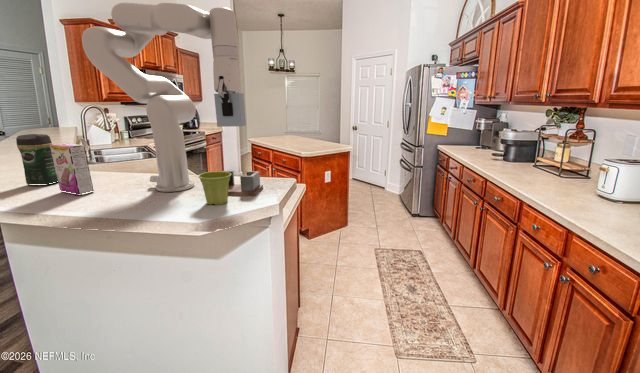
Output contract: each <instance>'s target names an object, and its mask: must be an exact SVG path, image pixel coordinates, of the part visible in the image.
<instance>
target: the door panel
mask: <svg viewBox="0 0 640 373" xmlns="http://www.w3.org/2000/svg"><path fill="white" fill-rule="evenodd" d="M244 96H245V95H244V93H242V92H241V93H240V92H239V93H231V103H232V107H233V116H223V113H222V103H221V97H220V95H219V94H218V93H214V94H213V97H214V106H215V117H216V126H217V127H227V128H228V127H245V126H247V122H246V109H245V108H246V107H245V97H244ZM227 97H228V95H227Z"/></svg>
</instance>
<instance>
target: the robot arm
mask: <svg viewBox="0 0 640 373" xmlns="http://www.w3.org/2000/svg"><path fill="white" fill-rule="evenodd" d="M110 15H111V19H112V21H113V23H114V25H116V26H117V27H118V28H119V29H121V30H119V29H115V28H110V27H105V26H90V27H88V28H86V29H84V30H83V33H82V34H81V35H82V36H81V43H82V48H83V51H84V53H85V56H86V57H87V59H88V60H89V62H90V63H91V64H92V65H93V66H94V67H95V68H96V69H97V70H98V71H100V72H101V73H102V74H103V75H105V76H106V77H107V78H108V79H109V80H111V81H112V82H113V83H114V84H115V85H116V86H117V87H119V88H120V89H121V90H122V91H123V92H124V93H125V94H126V95H128V96H129V98H131V99H132V100H134V102H136V103H138V104H146V107H145V108H146V109H145V111H146V115H147V116H146V117H147V119H148V121H149V124H150V127H151V131H152V132H151V133H152V137H153V144H154V150H155V157H156V165H157V171H158V175H151V176H150V178H149V182H150V183H156V185H155V190H156V191H158V192H163V193H164V192H165V193H172V192H181V191H186V190H189V189H191V188H194V187H195V182H194V181H192V180H190V176H189V168H188V160H187V151H186V142H185V136H184V133H183V130H182V128H181V127H180V124H184V123H187V122H188V123H189V122H191V121H192V120H194V118H195V116H196V114H197V113H196V110H197V109H196V105H195V103H194V102H193V100H192V99H191V98H190V97H189V96H188V95H187V94H186V93H184V92H183V91H182V90H181V89H180V88H178V87H177V85H175V84H174V83H173V82H171V81H170V79H168V78H165V77H163V76H161V75H152V74H146V73H143V72H142V71H140V70H139V69H138V68H137V67H135V65H133V64H132V63H131V62H130V61H128V60H126V59H130V58H134V57H136V56H138V55H139V54H140V53H141V52H142V51H143V49H145V47H147V45H148V44H150V42H151V41H152V39H154V38H155V36H164V35H166V34H167V33H168V32H171V33H179V34H181V33H182V34H186V35H190V36H194V37H197V38H200V39H204V40H210V41H211V50H212V60H213V65H212V66H213V67H212V70H213V71H212V72H213V73H212V75H213V90H214V91H215V92H216V93H217V94H219V95H220V97H221V103H222V113H223V116H233V107H232V103H231V93H240V91H241V90H240V89H241V88H240V87H241V85H240V84H241V83H240V75H239V74H240V73H239V66H238V60H240V59H239V49H238V47H239V46H238V33H237V31H238V30H237V18H236V14H235V11H234V10H233V9H231V8H228V7H223V6H222V7H219V6H217V7H213V8H211V9H210V10H209V12H208V11H204V10H202V9H200V8H198V7H195V6H192V5H190V4H183V3H177V2H176V3H173V2H172V3H171V2H160V3H157V4H151V3H150V4H149V3H138V2H137V3H135V2H119V3H117V4H115V5H114V6H113V7H112V9H111V14H110ZM227 95H228V97H227Z"/></svg>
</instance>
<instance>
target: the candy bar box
mask: <svg viewBox="0 0 640 373" xmlns="http://www.w3.org/2000/svg"><path fill="white" fill-rule="evenodd" d="M49 146H50V150H51V154H52V158H53V162H54V166H55V170H56V175H57V179H58V183H57V184H58V186H59V191H60V190H61V191H66V192H71V193H76V194H82V193H86V192H90V191H95V190H94V186H93V181H92V176H91V171H90V166H89V162H88V156H87V151H86V146H85V145H84V144H76V143H67V142H63V143H60V142H59V143H52V145H49Z"/></svg>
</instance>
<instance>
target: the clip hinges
mask: <svg viewBox="0 0 640 373" xmlns="http://www.w3.org/2000/svg"><path fill="white" fill-rule="evenodd" d="M222 171H223V172H229V173H231V176H230V180H229V186H234V185H235V174H234V172H235V171H234V170H222ZM239 177H240V179H239V180H240V185H241V191H255V190H256V189H257V188H258V187H259V186H260V185H261V178H260V171H259V170H256V171H253V170H252V171H251V170H250V171H249V170H248V171H246V175H240V176H239Z"/></svg>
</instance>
